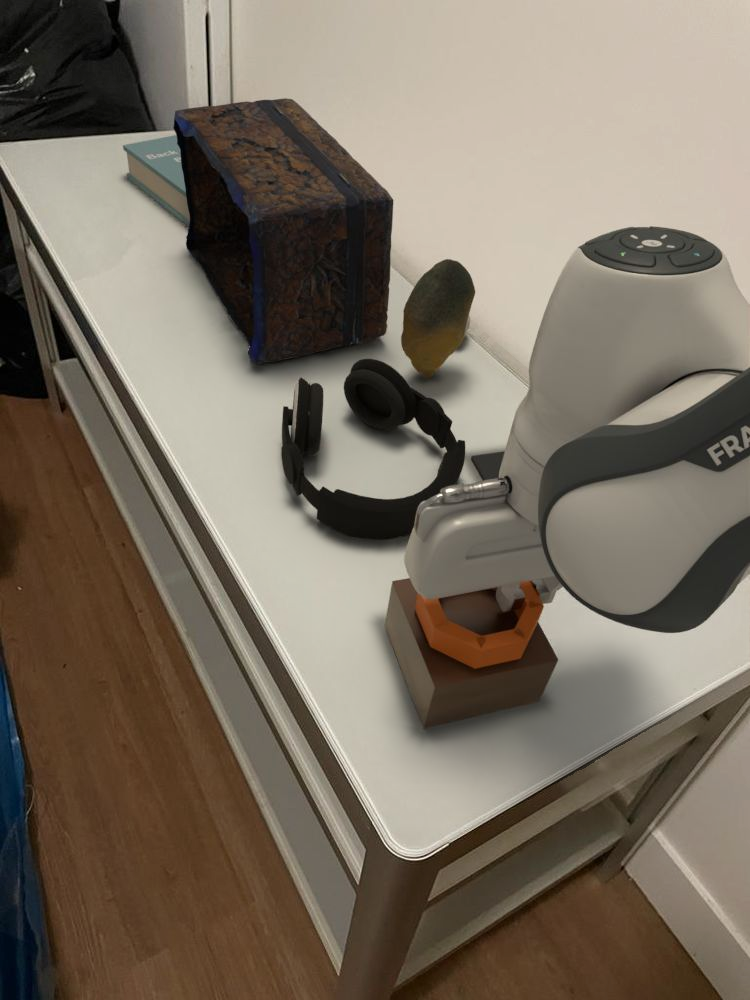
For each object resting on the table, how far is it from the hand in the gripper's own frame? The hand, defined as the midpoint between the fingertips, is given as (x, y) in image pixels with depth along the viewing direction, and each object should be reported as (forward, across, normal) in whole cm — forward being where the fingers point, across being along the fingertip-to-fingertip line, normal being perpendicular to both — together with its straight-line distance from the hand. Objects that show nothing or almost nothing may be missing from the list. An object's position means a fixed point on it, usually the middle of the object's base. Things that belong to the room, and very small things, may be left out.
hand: (522, 600), depth 61 cm
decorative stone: (+7, +7, +38) cm, 40 cm away
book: (+7, -11, +88) cm, 89 cm away
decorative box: (+7, -7, +58) cm, 59 cm away
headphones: (+7, -5, +24) cm, 26 cm away
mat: (+7, +12, +18) cm, 23 cm away
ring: (+1, -4, 0) cm, 4 cm away
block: (+7, -4, 0) cm, 8 cm away
